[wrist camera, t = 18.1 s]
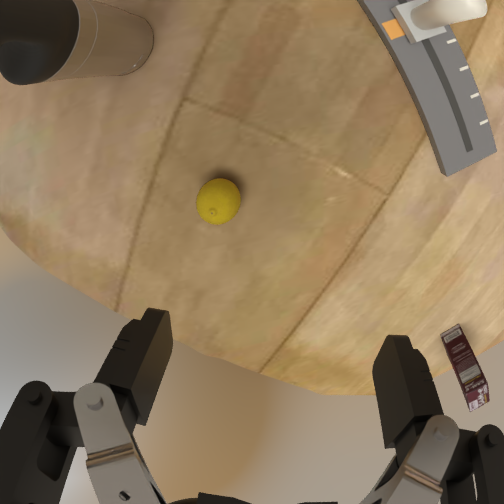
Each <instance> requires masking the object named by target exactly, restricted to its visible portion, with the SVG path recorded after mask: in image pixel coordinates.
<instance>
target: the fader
mask: <svg viewBox="0 0 504 504" xmlns="http://www.w3.org/2000/svg"><path fill="white" fill-rule="evenodd" d="M391 11H392V12H393V14H394V16H395V17H396V19H397V21H398V22H399V24H400V26H401V27H402V29H403V31H404V33H405V34H406V36H407V38H408V40H409V42H410V43H415V42H418V41H421V40H424V39H427V38H430V37H432V36H435V35H438V34H441V33H444V32H447V31H446V29H445V27H444V26H445V25H449V24H453V23H457V22H461V21H466V20H470V19H475V18H480V17H483V16H485V15H486V13H487V4H486V1H485V0H413V1H410V2H407V3H404V4H401V5H397V6H395V7H393V8H392V9H391Z"/></svg>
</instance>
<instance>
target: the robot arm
mask: <svg viewBox="0 0 504 504" xmlns="http://www.w3.org/2000/svg"><path fill="white" fill-rule="evenodd" d="M152 46H153V31H152V29H151V27H150V25H149V24H148V22H147V21H146V20H144V19H143V18H141V17H139V16H136V15H133V14H130V13H128V12H126V11H125V10H122V9H119V8H116V7H113V6H110V5H107V4H103V3H100V2H97V1H93V0H0V72H1V74H2V75H3V77H4V78H5V79H6V80H8V81H9V82H11V83H13V84H17V85H27V84H34V83H41V82H48V81H55V80H63V79H72V78H83V77H96V76H115V75H125V74H129V73H131V72H133V71H135V70H136V69H138V68H139V67H140V66H141V65H142V64H143V63H144V62H145V61H146V60H147V58H148V57H149V55H150V52H151V50H152ZM112 347H113V348H112V349H111V350H110V352H109V354H108V356H107V358H106V359H105V361H104V363H103V365H102V367H101V369H100V371H99V373H98V375H97V377H96V379H95V380H94V382H93V383H90V384H86V385H84V386H82V387H81V388H80V389H79V390H78V391H77V392H55V391H51V389H50V387H49V386H48V385H47V384H46V383H44V382H41V381H32V382H29V383H27V384H26V385H24V386H23V387H22V388H21V390H20V391H19V393H18V395H17V396H16V398H15V400H14V402H13V404H12V406H11V408H10V410H9V412H8V414H7V416H6V418H5V420H4V422H3V424H2V426H1V429H0V504H59V502H60V498H61V495H62V492H63V488H64V485H65V482H66V479H67V476H68V473H69V470H70V467H71V464H72V461H73V458H74V455H75V452H76V449H77V447H85V449H86V452H87V456H88V459H87V460H86V466H87V470H88V473H89V476H90V479H91V482H92V485H93V487H94V490H95V493H96V495H97V498H98V500H99V503H100V504H167V503H166V501H165V499H164V497H163V495H162V493H161V492H160V490H159V488H158V486H157V484H156V482H155V481H154V479H153V477H152V475H151V473H150V471H149V469H148V467H147V465H146V463H145V460H144V458H143V456H142V454H141V452H140V449H139V447H138V445H137V442H136V440H135V438H134V435H133V431H134V428H135V425H136V424H140V425H144V426H145V425H146V423H147V420H148V417H149V414H150V411H151V409H152V406H153V403H154V400H155V397H156V395H157V392H158V389H159V386H160V383H161V381H162V378H163V375H164V372H165V370H166V366H167V364H168V362H169V359H170V356H171V353H172V347H173V337H172V330H171V322H170V314H169V311H166V310H160V309H154V308H147V310H146V311H145V313H144V315H143V317H142V319H141V320H136V319H133V320H131V321H130V322H129V323H128V324H127V325H125V326H124V327H123V328H122V330H121V332H120V334H119V335H118V337H117V340H116V341H115V343H114V345H113V346H112ZM429 371H430V370H429V367H428V364H427V361H426V359H425V358H424V356H423V355H422V354H421V353H420V351H419V350H418V349H413V347H412V344H411V342H410V339H409V337H408V336H407V335H388V336H387V337H386V339H385V341H384V343H383V345H382V347H381V349H380V351H379V353H378V355H377V357H376V359H375V361H374V364H373V371H372V374H373V381H374V386H375V391H376V397H377V402H378V408H379V414H380V419H381V426H382V432H383V439H384V445H385V449H386V448H395V449H396V454H395V455H394V457H393V458H392V460H391V461H390V463H389V464H388V466H387V468H386V469H385V471H384V472H383V474H382V475H381V477H380V478H379V480H378V481H377V483H376V484H375V486H374V487H373V489H372V490H371V491H370V493H369V494H368V495H367V496H366V497H365V498H364V500H362V501H361V503H360V504H437V503H438V501H439V499H440V501H441V504H504V435H503V433H502V431H501V430H500V429H499V428H498V427H497V426H494V425H491V424H489V425H485V426H483V427H482V428H481V429H480V430H478V431H477V432H475V431H469V430H463V429H459V428H458V426H457V424H456V423H455V421H454V420H453V419H451V418H450V417H448V416H445V415H444V413H443V410H442V407H441V404H440V400H439V397H438V394H437V391H436V388H435V385H434V382H433V381H432V380H433V378H432V375H431V373H430V372H429ZM473 474H474V475H475V482H476V488H477V501H476V495H475V488H474V481H473ZM169 504H250V503H248V502H245V501H242V500H238V499H236V498H233V497H225V496H219V495H212V494H206V493H201V492H199V494H198V498H189V499H183V500H178V501H175V502H172V503H169ZM299 504H338V502H304V503H299Z"/></svg>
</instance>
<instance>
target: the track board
mask: <svg viewBox="0 0 504 504" xmlns="http://www.w3.org/2000/svg"><path fill="white" fill-rule="evenodd" d="M357 1H358V2H359V4H360V5H361V7H362V8H363V10H364V11H365V13H366V14H367V16H368V18H369V19H370V21H371V22H372V24H373V26H374V27H375V29H376V30H377V32H378V34H379V35H380V37H381V39H382V41H383V42H384V44H385V46H386V48H387V49H388V51H389V53H390V55H391V57H392V58H393V60H394V62H395V64H396V66H397V68H398V70H399V72H400V74H401V76H402V78H403V80H404V82H405V84H406V86H407V88H408V90H409V92H410V94H411V97H412V99H413V101H414V103H415V105H416V108H417V110H418V112H419V115H420V117H421V119H422V122H423V124H424V127H425V129H426V132H427V134H428V137H429V139H430V142H431V145H432V147H433V150H434V153H435V156H436V159H437V161H438V164H439V167H440V170H441V173H442V174H444V175H445V176H447V177H448V176H450V175H452V174H454V173H456V172H458V171H460V170H462V169H464V168H466V167H468V166H470V165H472V164H474V163H476V162H478V161H480V160H482V159H483V158H485V157H487V156H489V155H491V154H493V153H495V152H497V149H496V145H495V141H494V138H493V134H492V130H491V127H490V124H489V120H488V117H487V114H486V111H485V108H484V105H483V102H482V99H481V96H480V93H479V91H478V88H477V85H476V83H475V80H474V78H473V75H472V73H471V70H470V68H469V66H468V63H467V61H466V59H465V56H464V54H463V52H462V50H461V48H460V46H459V43H458V41H457V39H456V37H455V35H454V33H453V31H452V29H451V27H450V25H445V26H444V27H445V29H446V31H447V32H444V33H441V34H438V35H435V36H432V37H430V38H427V39H424V40H421V41H418V42H415V43H410V42H409V40H408V38H407V36H406V34H405V33H404V31H403V29H402V27H401V26H400V24H399V22H398V21H397V19H396V17H395V16H394V14H393V12H392V11H391V9H392V8H393V7H395V6H397V5H401V4H404V3H407V2H410V1H413V0H357Z"/></svg>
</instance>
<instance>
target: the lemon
mask: <svg viewBox="0 0 504 504" xmlns="http://www.w3.org/2000/svg"><path fill="white" fill-rule="evenodd" d="M240 202H241V197H240V193H239V190H238V188H237V187H236V186H235V184H233V183H232V182H231V181H229V180H227V179H222V178H219V179H213V180H210V181H209V182H207V183H206V184H204V186H203V187H202V188H201V189H200V191H199V193H198V195H197V201H196V205H197V210H198V213H199V215H200V216H201V218H202V219H203V220H205V221H206V222H208V223H211V224H216V225H218V224H223V223H226V222H228V221H229V220H231V219H232V218H233V217H234V216H235V215H236V213H237V212H238V210H239V207H240Z"/></svg>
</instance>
